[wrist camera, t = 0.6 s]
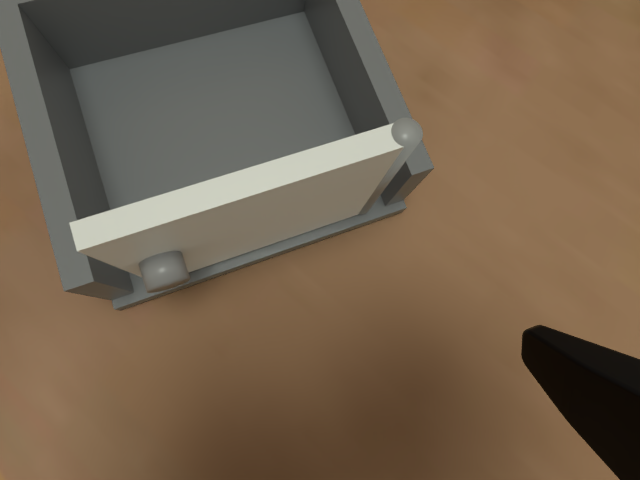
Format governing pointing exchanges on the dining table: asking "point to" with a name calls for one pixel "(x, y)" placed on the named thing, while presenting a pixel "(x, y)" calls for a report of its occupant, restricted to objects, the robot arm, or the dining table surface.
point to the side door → (247, 207)
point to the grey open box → (188, 108)
